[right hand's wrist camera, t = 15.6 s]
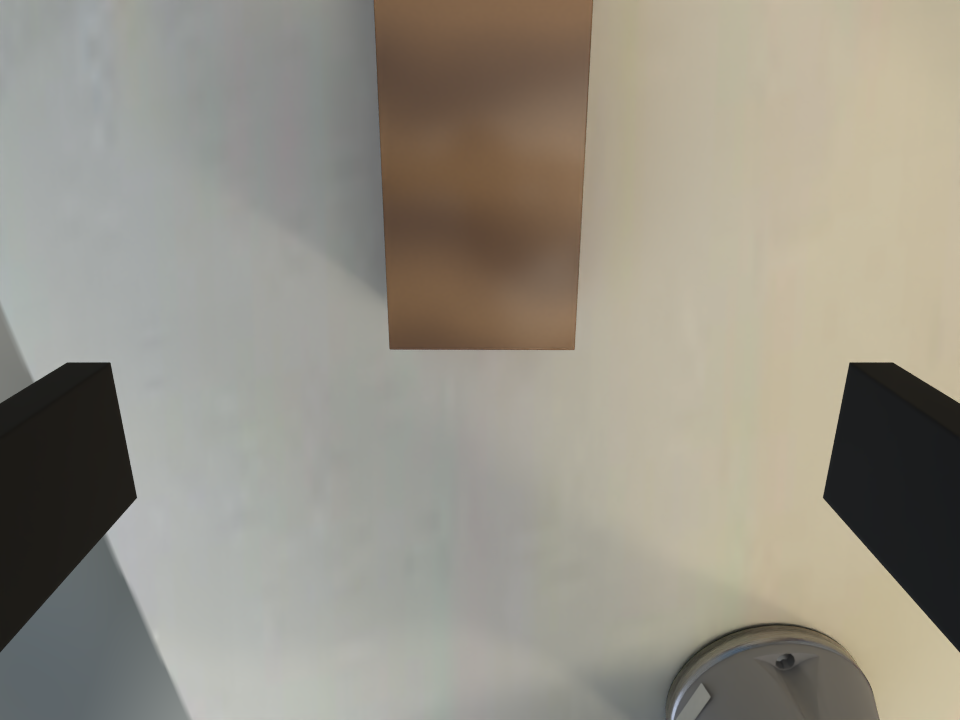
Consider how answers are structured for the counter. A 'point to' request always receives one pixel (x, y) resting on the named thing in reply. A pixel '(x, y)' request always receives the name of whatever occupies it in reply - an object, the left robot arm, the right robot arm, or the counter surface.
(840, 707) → the right robot arm
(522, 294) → the slab
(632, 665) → the counter surface
